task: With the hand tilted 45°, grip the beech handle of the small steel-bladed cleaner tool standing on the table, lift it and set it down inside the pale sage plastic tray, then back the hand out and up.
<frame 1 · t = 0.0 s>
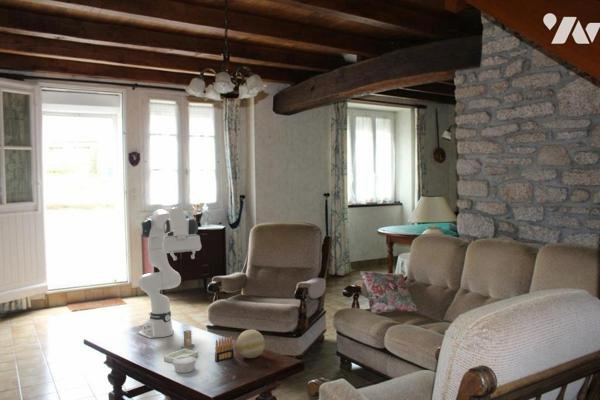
hand: (184, 259, 269), 54 cm above the table, tool tilted 30°, fingers open, 8 cm apart
ramekin: (184, 370, 259), on the table
cleaner tool: (187, 348, 292), on the table
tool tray: (181, 358, 276), on the table
decorative ball: (251, 358, 275), on the table
ammunition clip: (224, 360, 272), on the table
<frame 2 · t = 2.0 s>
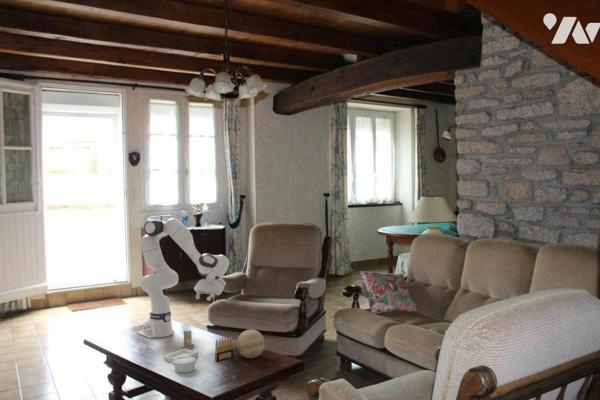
hand: (202, 299, 301), 26 cm above the table, tool tilted 45°, fingers open, 8 cm apart
nothing on the table moved.
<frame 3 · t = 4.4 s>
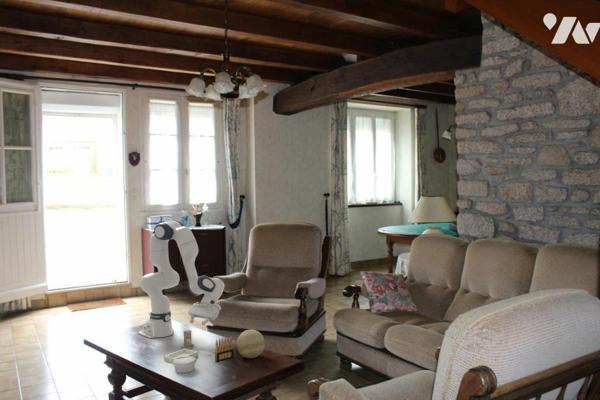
hand: (196, 323, 298), 12 cm above the table, tool tilted 45°, fingers open, 8 cm apart
nothing on the table moved.
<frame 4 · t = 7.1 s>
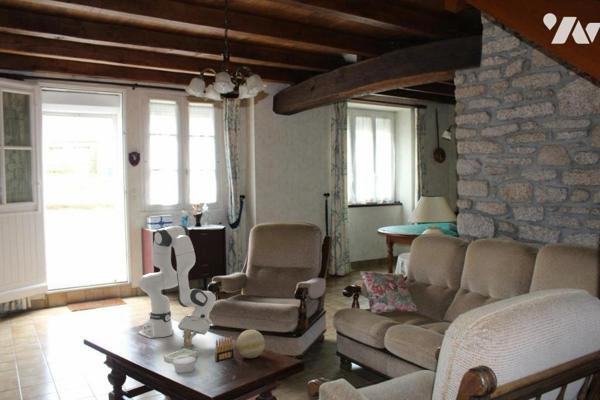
hand: (186, 338, 292), 6 cm above the table, tool tilted 45°, fingers closed on cleaner tool, 3 cm apart
cleaner tool: (187, 348, 292), on the table, touching gripper
everything else where it was.
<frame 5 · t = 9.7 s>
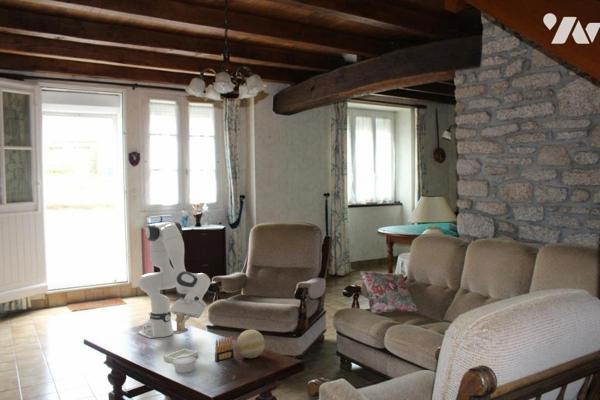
hand: (179, 322, 275), 20 cm above the table, tool tilted 45°, fingers closed on cleaner tool, 3 cm apart
cleaner tool: (180, 332, 275), point 14 cm above the table, touching gripper
everything else where it was.
when the fingers open (7 cm above the table, at t = 12.3 s): cleaner tool stays where it is, resting on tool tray.
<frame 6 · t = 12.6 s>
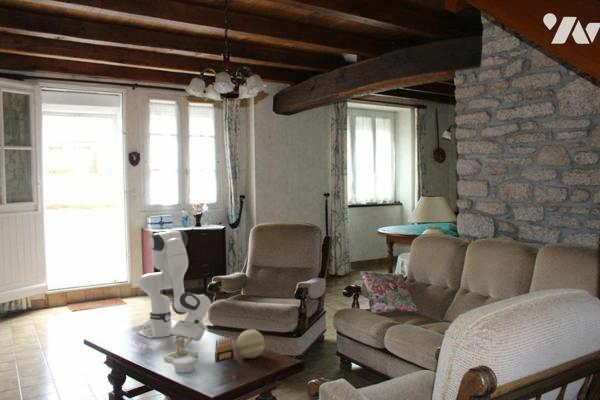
hand: (179, 344, 275), 7 cm above the table, tool tilted 45°, fingers open, 6 cm apart
cleaner tool: (181, 357, 276), point 1 cm above the table, touching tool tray
everything else where it was.
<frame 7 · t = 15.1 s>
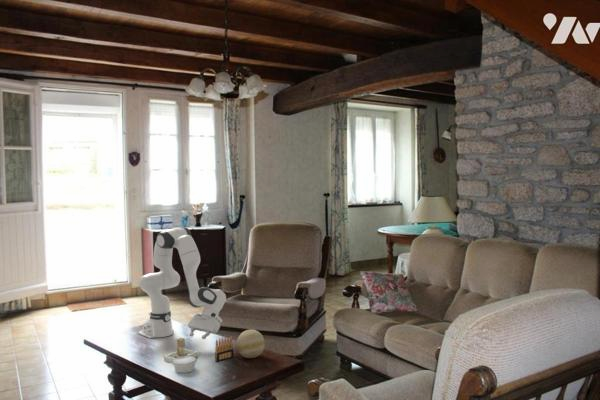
hand: (197, 337, 287), 8 cm above the table, tool tilted 45°, fingers open, 8 cm apart
nothing on the table moved.
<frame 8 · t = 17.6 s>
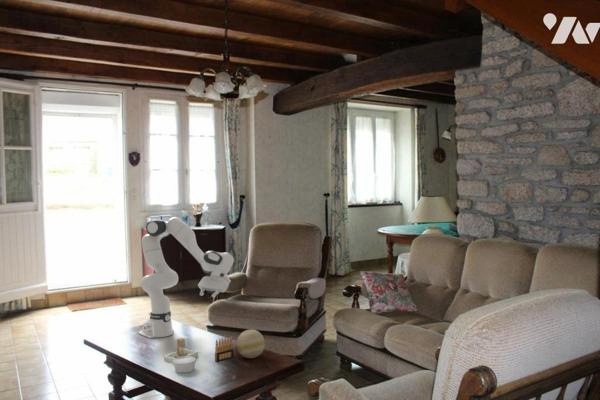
hand: (206, 296, 302), 27 cm above the table, tool tilted 45°, fingers open, 8 cm apart
nothing on the table moved.
at the end: cleaner tool 0.1 cm off-centre on the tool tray, point 0.6 cm above the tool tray's base; the gripper is holding nothing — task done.
